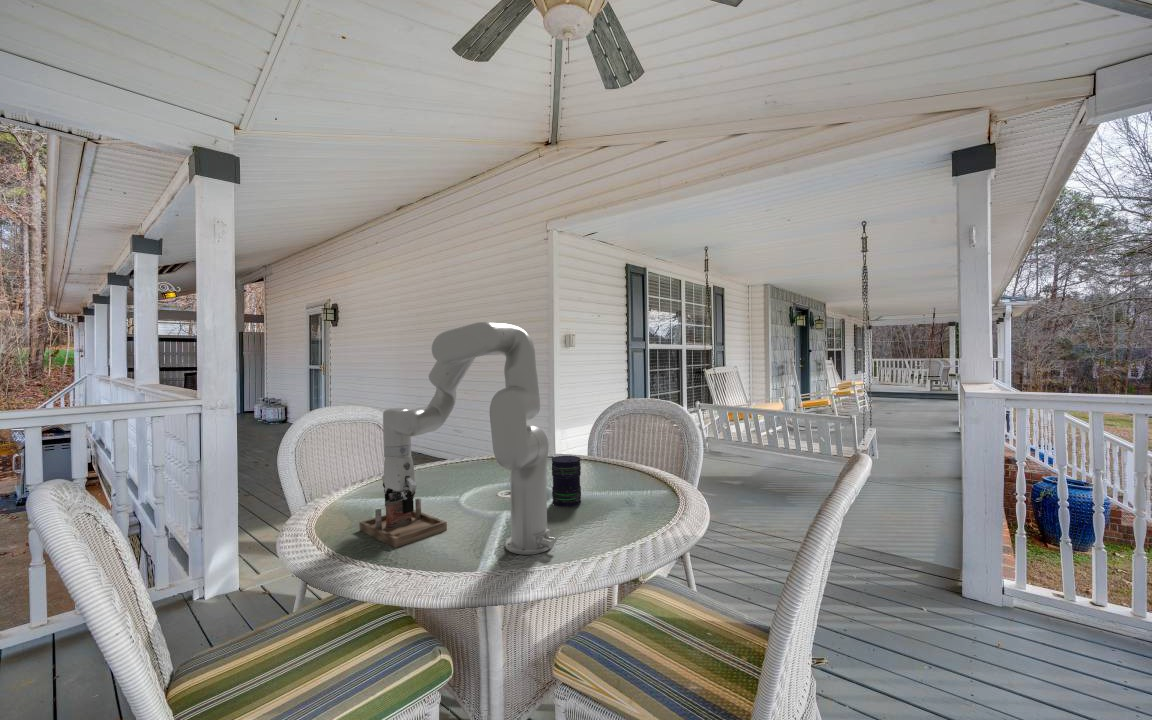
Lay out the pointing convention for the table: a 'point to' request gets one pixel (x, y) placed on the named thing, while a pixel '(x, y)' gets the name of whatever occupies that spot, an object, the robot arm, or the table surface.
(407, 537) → the pin tray
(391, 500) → the lighter
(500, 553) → the table surface
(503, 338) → the robot arm
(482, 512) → the table surface
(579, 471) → the storage jar
